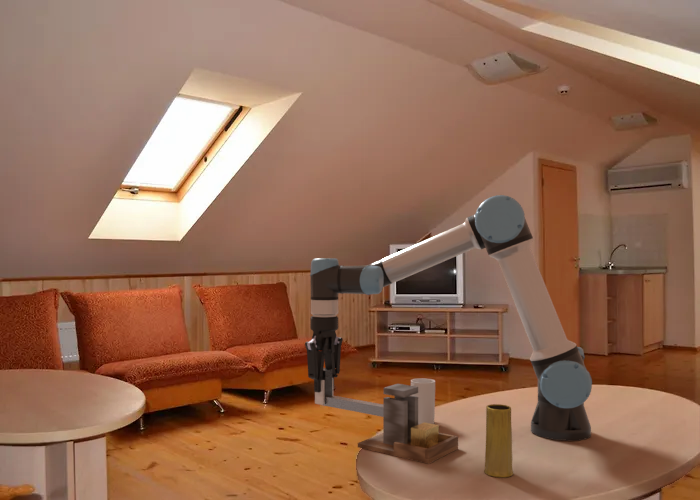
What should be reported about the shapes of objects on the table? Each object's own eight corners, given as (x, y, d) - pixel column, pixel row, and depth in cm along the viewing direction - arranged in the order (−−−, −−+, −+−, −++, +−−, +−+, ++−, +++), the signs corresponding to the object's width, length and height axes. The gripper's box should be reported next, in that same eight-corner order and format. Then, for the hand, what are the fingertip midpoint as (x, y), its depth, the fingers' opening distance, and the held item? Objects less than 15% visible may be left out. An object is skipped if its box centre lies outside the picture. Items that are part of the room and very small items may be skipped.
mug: (432, 428, 173) (432, 383, 173) (408, 425, 175) (408, 382, 175) (439, 419, 182) (439, 377, 182) (416, 417, 184) (416, 375, 184)
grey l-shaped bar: (402, 417, 157) (403, 379, 157) (396, 419, 155) (396, 381, 155) (323, 402, 173) (323, 367, 173) (316, 404, 170) (316, 369, 171)
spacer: (424, 442, 156) (438, 445, 153) (411, 448, 151) (425, 451, 148) (424, 422, 156) (438, 425, 153) (411, 427, 151) (425, 430, 148)
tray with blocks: (458, 448, 154) (458, 388, 154) (428, 463, 143) (429, 399, 143) (389, 434, 166) (389, 378, 166) (357, 447, 155) (357, 387, 155)
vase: (480, 468, 140) (480, 403, 140) (507, 468, 141) (507, 403, 141) (489, 478, 134) (489, 410, 134) (517, 477, 134) (517, 410, 135)
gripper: (332, 312, 180) (332, 395, 180) (293, 316, 167) (293, 406, 167) (353, 314, 175) (353, 399, 175) (315, 318, 162) (315, 410, 162)
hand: (324, 402), depth 171 cm, fingers closed on grey l-shaped bar, 3 cm apart
